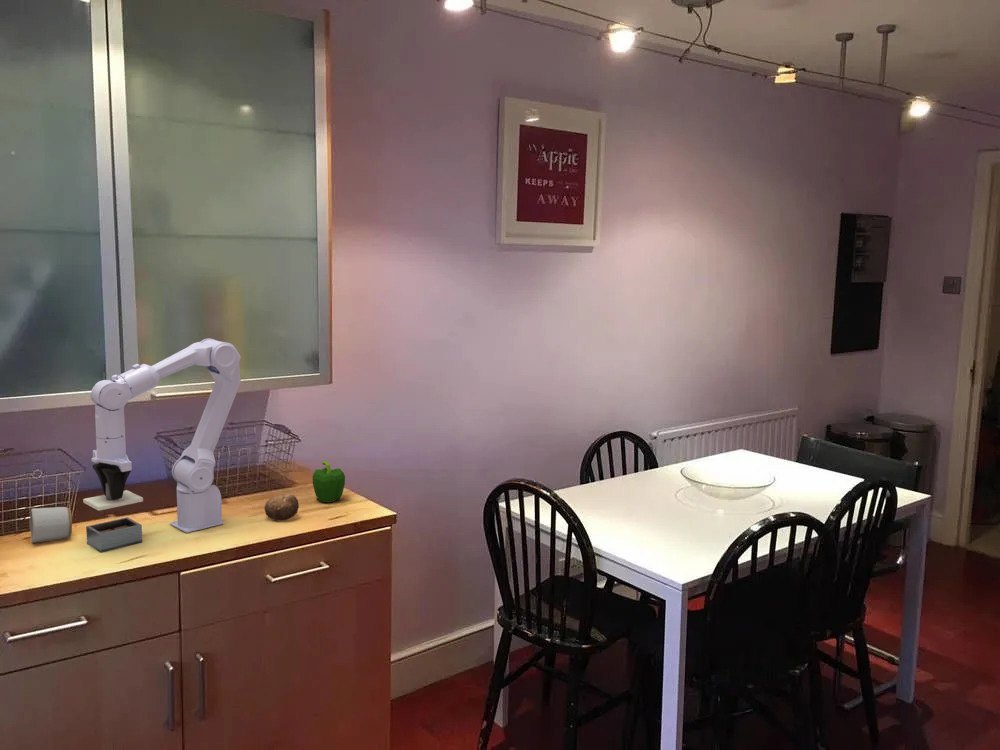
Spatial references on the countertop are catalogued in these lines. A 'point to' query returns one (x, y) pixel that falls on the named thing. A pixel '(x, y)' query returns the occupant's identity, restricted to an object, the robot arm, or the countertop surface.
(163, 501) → the countertop surface
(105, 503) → the lid
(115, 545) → the tin
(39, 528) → the ceramic mug
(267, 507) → the brown potato
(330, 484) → the bell pepper
